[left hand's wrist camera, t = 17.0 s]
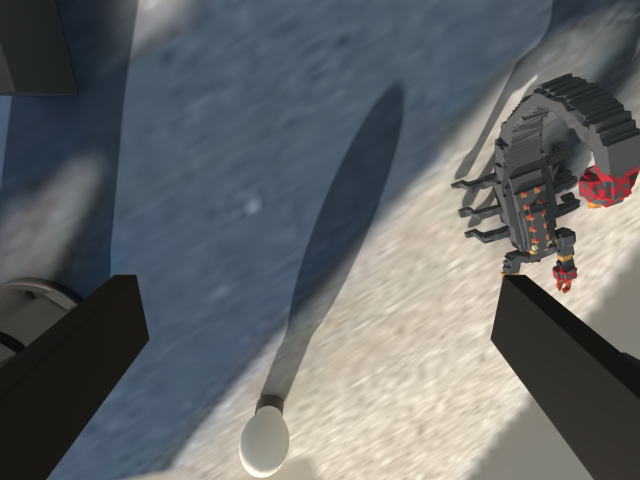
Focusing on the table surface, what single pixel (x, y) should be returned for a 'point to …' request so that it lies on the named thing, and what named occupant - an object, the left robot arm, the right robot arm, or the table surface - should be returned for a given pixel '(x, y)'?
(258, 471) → the light bulb
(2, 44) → the bar
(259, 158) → the table surface
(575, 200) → the toy
